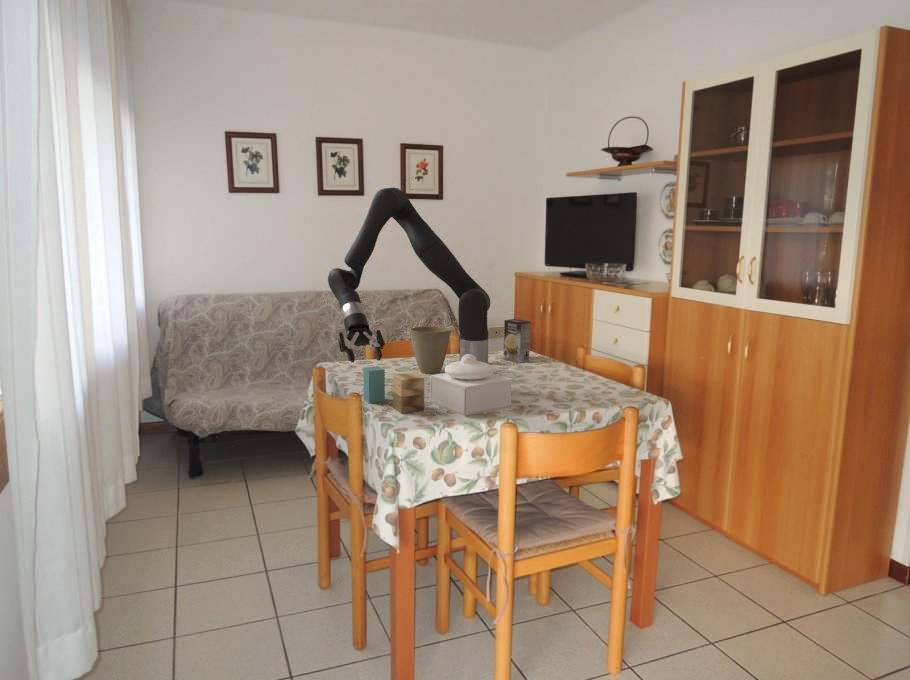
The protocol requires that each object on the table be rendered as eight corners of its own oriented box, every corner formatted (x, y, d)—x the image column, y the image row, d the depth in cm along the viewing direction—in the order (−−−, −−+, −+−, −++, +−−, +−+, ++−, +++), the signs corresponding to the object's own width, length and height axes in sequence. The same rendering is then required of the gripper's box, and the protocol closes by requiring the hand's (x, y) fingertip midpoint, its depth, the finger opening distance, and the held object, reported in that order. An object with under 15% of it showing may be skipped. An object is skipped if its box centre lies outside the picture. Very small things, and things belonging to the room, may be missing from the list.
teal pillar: (379, 397, 209) (378, 366, 207) (384, 401, 204) (384, 369, 203) (363, 399, 207) (363, 367, 205) (369, 403, 202) (368, 371, 201)
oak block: (414, 388, 201) (414, 372, 200) (424, 394, 194) (424, 377, 194) (392, 391, 198) (392, 374, 197) (401, 396, 191) (401, 379, 190)
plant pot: (452, 368, 253) (452, 326, 250) (448, 377, 238) (448, 332, 235) (413, 366, 254) (413, 325, 251) (406, 375, 239) (406, 331, 237)
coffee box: (502, 359, 270) (503, 319, 267) (513, 357, 274) (514, 318, 271) (519, 363, 263) (520, 322, 260) (530, 360, 267) (531, 321, 265)
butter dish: (474, 395, 214) (475, 346, 212) (512, 407, 200) (513, 355, 197) (429, 403, 204) (429, 351, 201) (465, 417, 190) (466, 362, 187)
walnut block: (414, 405, 201) (414, 388, 201) (423, 410, 195) (424, 394, 194) (392, 407, 198) (392, 391, 198) (401, 413, 192) (401, 396, 191)
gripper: (335, 312, 212) (346, 355, 204) (378, 310, 218) (390, 351, 210) (331, 327, 218) (342, 368, 210) (372, 324, 224) (385, 364, 216)
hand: (366, 360), depth 210 cm, fingers open, 8 cm apart
